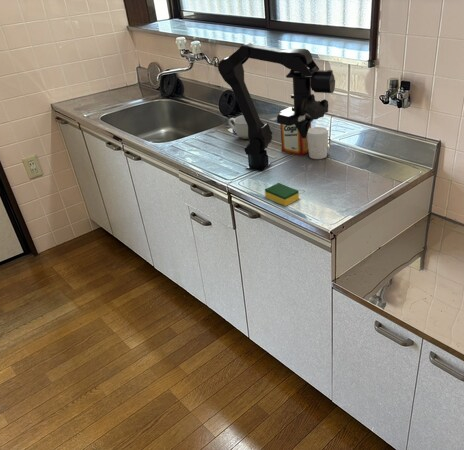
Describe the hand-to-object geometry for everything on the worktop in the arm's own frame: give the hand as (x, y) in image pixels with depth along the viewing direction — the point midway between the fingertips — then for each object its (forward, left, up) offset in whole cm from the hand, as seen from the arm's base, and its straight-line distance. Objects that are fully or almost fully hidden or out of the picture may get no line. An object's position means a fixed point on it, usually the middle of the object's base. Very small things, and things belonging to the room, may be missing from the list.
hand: (304, 138), depth 159 cm
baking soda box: (-12, +17, -13) cm, 24 cm away
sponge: (+2, -21, -12) cm, 24 cm away
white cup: (-2, +15, -13) cm, 20 cm away
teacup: (-40, +24, -8) cm, 47 cm away
